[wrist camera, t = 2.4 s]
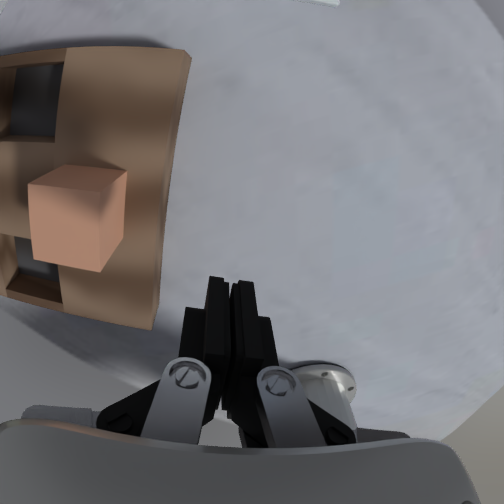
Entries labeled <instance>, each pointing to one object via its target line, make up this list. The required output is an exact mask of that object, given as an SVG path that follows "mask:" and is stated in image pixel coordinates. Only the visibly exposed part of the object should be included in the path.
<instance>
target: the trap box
mask: <svg viewBox="0 0 504 504" xmlns="http://www.w3.org/2000/svg"><path fill="white" fill-rule="evenodd" d="M191 60H192V58H191V57H190V55H189V54H188V53H187V52H186V51H185V50H179V49H168V48H154V47H132V46H92V47H71V48H57V49H47V50H38V51H30V52H22V53H16V54H10V55H4V56H0V295H2V296H5V297H8V298H12V299H15V300H19V301H22V302H26V303H29V304H33V305H37V306H40V307H44V308H48V309H52V310H56V311H60V312H64V313H68V314H73V315H77V316H81V317H86V318H90V319H95V320H99V321H104V322H109V323H114V324H119V325H124V326H129V327H134V328H140V329H145V330H152V327H153V323H154V320H155V316H156V313H157V309H158V306H159V296H160V280H161V266H162V253H163V242H164V231H165V221H166V212H167V203H168V195H169V187H170V179H171V172H172V165H173V158H174V151H175V145H176V138H177V132H178V126H179V121H180V115H181V109H182V104H183V99H184V93H185V88H186V83H187V78H188V74H189V69H190V64H191ZM65 164H67V165H77V166H88V167H97V168H107V169H115V170H124V171H127V181H126V194H125V209H124V231H123V239H122V240H121V242H120V243H119V245H118V246H117V248H116V249H115V251H114V252H113V254H112V255H111V257H110V258H109V260H108V261H107V263H106V264H105V266H104V267H103V269H102V271H101V272H95V271H90V270H84V269H79V268H74V267H69V266H64V265H59V264H54V263H49V262H45V261H40V260H35V259H34V258H33V250H32V241H31V232H30V220H29V204H28V183H30V182H32V181H34V180H36V179H37V178H39V177H41V176H43V175H45V174H47V173H49V172H51V171H53V170H55V169H57V168H59V167H61V166H63V165H65Z"/></svg>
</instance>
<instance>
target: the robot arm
mask: <svg viewBox="0 0 504 504" xmlns="http://www.w3.org/2000/svg"><path fill="white" fill-rule="evenodd" d="M356 390H357V389H356V383H355V380H354V378H353V376H352V374H351V373H350V372H348V371H347V370H346V369H344V368H341V367H339V366H335V365H326V364H318V365H309V366H303V367H300V368H296V369H293V370H291V371H290V370H288V369H287V368H284V367H280V366H279V363H278V358H277V352H276V347H275V341H274V336H273V331H272V325H271V320H270V318H269V317H262V316H258V311H257V304H256V297H255V290H254V283H253V282H250V281H242V280H239V281H238V284H237V283H233V284H232V289H231V293H230V298H229V282H224V278H221V277H214V276H210V277H209V283H208V289H207V295H206V301H205V308H204V309H198V308H191V307H186V308H185V315H184V321H183V328H182V335H181V343H180V350H179V358H177V359H174V360H172V361H171V362H169V363H168V364H167V366H166V367H165V369H164V372H163V375H162V377H161V379H160V380H158V381H156V382H155V383H153V384H151V385H149V386H147V387H145V388H143V389H141V390H139V391H138V392H136V393H134V394H132V395H130V396H128V397H126V398H124V399H122V400H120V401H118V402H116V403H114V404H112V405H110V406H108V407H106V408H105V409H104V410H102V411H92V409H91V408H72V407H57V406H45V405H33V406H30V407H28V408H27V409H26V410H25V411H24V412H23V414H22V417H21V419H16V420H10V421H6V422H3V423H1V424H0V504H481V503H480V500H479V498H478V495H477V492H476V490H475V487H474V485H473V482H472V480H471V478H470V476H469V473H468V471H467V469H466V468H465V466H464V464H463V462H462V460H461V458H460V457H459V455H458V454H457V453H456V451H455V450H454V449H452V447H450V446H449V445H447V444H445V443H442V442H439V441H435V440H430V439H423V438H410V436H408V435H407V434H405V433H403V432H397V431H384V430H374V429H365V428H358V427H357V424H356V421H355V418H354V415H353V412H352V409H351V406H350V403H351V402H352V400H353V398H354V397H355V394H356ZM220 398H222V410H227V419H232V421H233V422H234V423H235V424H237V425H238V426H239V428H238V429H239V436H240V440H241V444H242V448H235V447H218V446H205V445H198V443H199V438H200V434H201V429H202V426H204V425H205V424H207V423H208V422H209V421H211V420H212V419H213V417H214V413H215V409H216V410H218V406H219V402H220Z"/></svg>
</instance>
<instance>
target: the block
mask: <svg viewBox="0 0 504 504" xmlns="http://www.w3.org/2000/svg"><path fill="white" fill-rule="evenodd" d="M126 181H127V171H124V170H115V169H107V168H97V167H88V166H77V165H67V164H65V165H63V166H61V167H59V168H57V169H55V170H53V171H51V172H49V173H47V174H45V175H43V176H41V177H39V178H37V179H36V180H34V181H32V182H30V183H28V204H29V220H30V232H31V241H32V250H33V258H34V259H35V260H40V261H45V262H49V263H54V264H59V265H64V266H69V267H74V268H79V269H84V270H90V271H95V272H101V271H102V269H103V267H104V266H105V264H106V263H107V261H108V260H109V258H110V257H111V255H112V254H113V252H114V251H115V249H116V248H117V246H118V245H119V243H120V242H121V240H122V239H123V231H124V209H125V194H126Z"/></svg>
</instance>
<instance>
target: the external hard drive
mask: <svg viewBox="0 0 504 504" xmlns="http://www.w3.org/2000/svg"><path fill="white" fill-rule="evenodd" d="M294 1H300V2H306V3H312V4H317V5H322V6H327V7H332V8H336V7H337V6H339V1H340V0H294Z"/></svg>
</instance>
